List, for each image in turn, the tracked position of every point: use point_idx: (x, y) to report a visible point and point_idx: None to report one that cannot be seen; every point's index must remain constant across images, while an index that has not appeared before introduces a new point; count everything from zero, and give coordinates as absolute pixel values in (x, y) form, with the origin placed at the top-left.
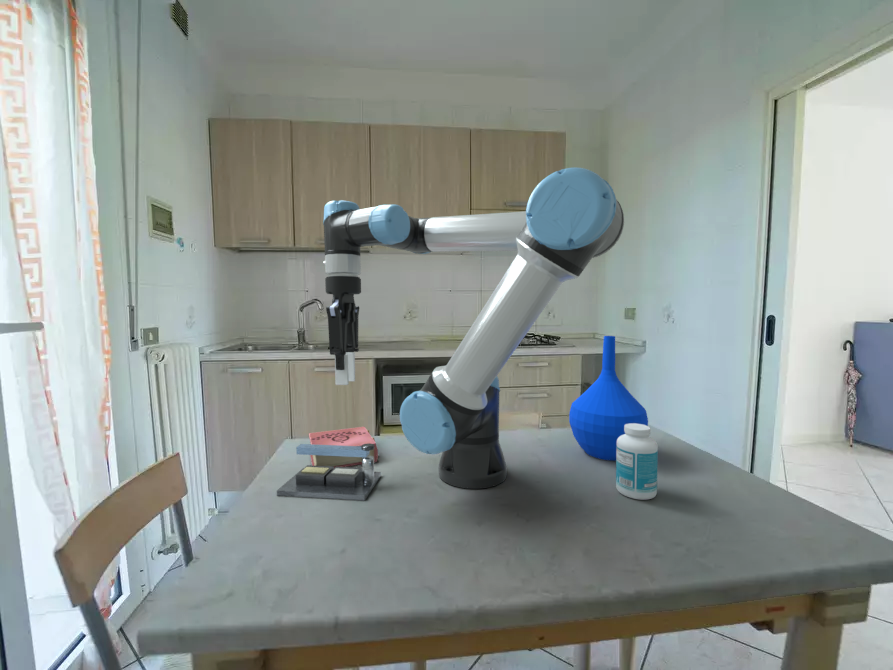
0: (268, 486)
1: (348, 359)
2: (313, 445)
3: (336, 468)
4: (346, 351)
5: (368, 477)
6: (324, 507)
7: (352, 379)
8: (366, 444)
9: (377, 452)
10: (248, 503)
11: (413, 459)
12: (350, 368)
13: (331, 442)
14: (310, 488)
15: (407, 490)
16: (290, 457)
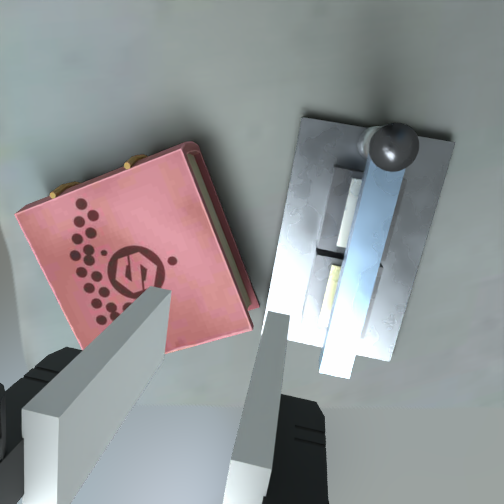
0: (336, 384)
1: (95, 416)
2: (337, 333)
3: (337, 243)
4: (18, 494)
5: None
6: (468, 236)
7: (165, 305)
8: (381, 154)
9: (188, 142)
10: (417, 400)
11: (178, 21)
12: (132, 355)
13: (173, 293)
14: (389, 289)
15: (406, 21)
16: (166, 380)
